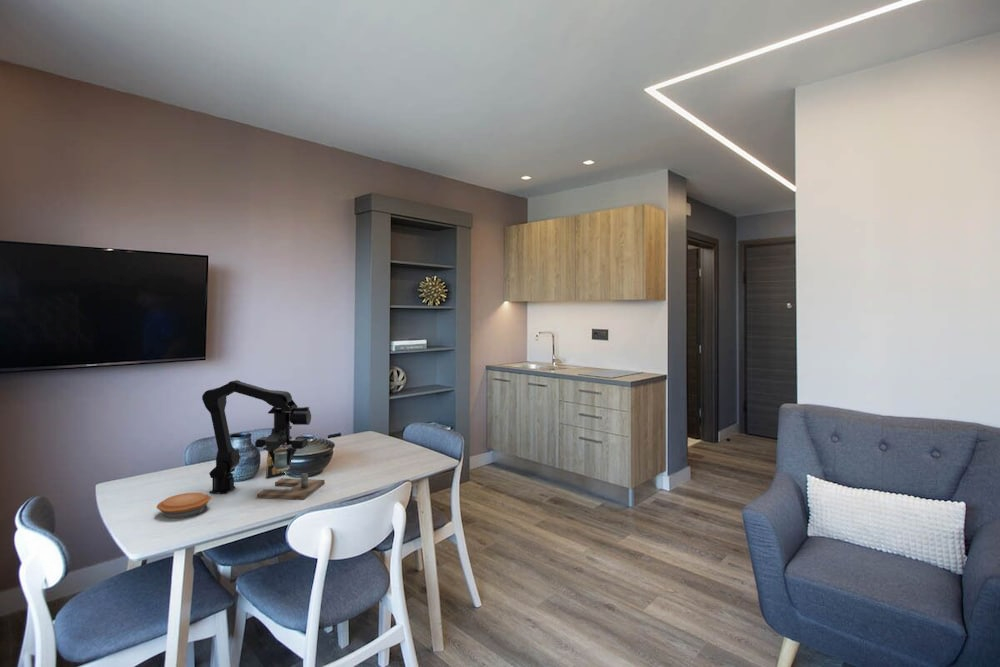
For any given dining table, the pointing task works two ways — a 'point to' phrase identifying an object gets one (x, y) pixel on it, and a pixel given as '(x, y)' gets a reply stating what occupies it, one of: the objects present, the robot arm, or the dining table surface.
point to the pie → (183, 505)
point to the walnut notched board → (299, 490)
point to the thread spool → (281, 460)
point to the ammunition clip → (269, 470)
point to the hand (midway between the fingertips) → (281, 464)
